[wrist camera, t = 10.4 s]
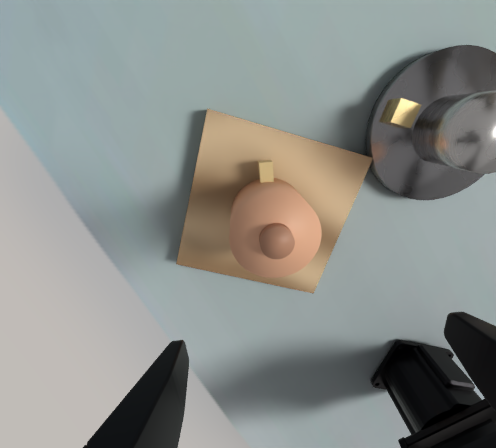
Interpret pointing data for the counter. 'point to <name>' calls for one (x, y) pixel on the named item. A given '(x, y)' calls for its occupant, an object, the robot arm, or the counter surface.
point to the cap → (272, 227)
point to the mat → (246, 170)
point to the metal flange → (436, 124)
